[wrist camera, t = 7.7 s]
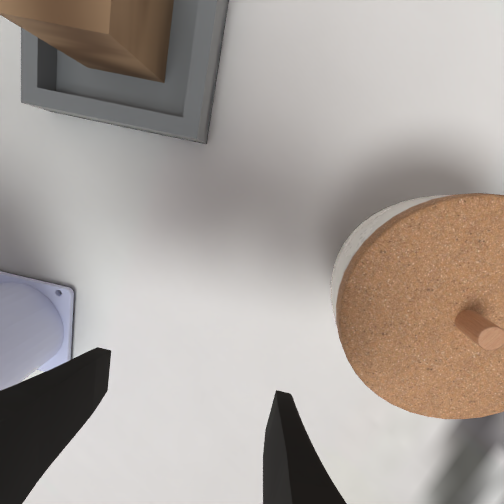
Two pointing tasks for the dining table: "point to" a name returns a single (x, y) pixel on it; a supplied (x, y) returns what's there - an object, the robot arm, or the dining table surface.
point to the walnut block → (101, 32)
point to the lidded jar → (427, 304)
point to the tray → (136, 79)
